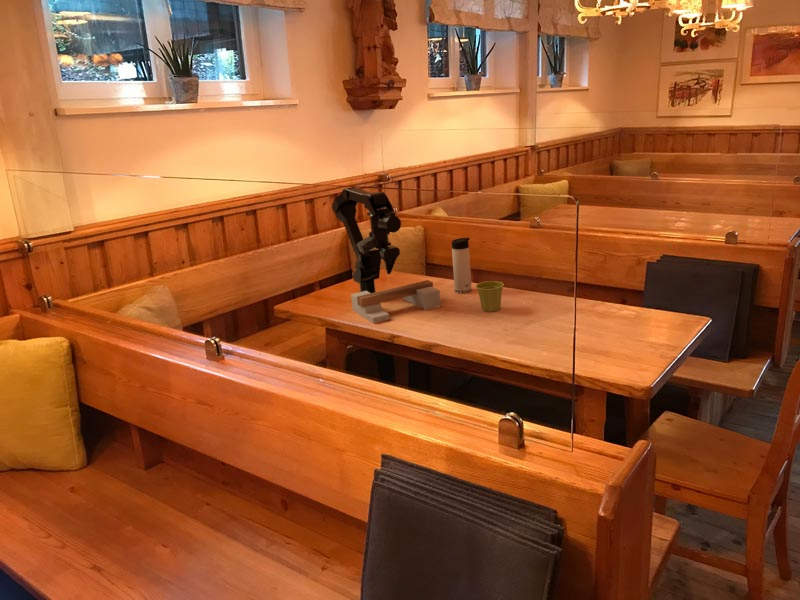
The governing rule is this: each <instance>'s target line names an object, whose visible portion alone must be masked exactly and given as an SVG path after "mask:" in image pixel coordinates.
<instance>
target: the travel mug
mask: <svg viewBox="0 0 800 600" xmlns="http://www.w3.org/2000/svg"><path fill="white" fill-rule="evenodd" d="M470 240H471V239H470V237H460V238H455V239H453V240H452V241H451V254H452V256H451V257H452V270H453V282H454V283H453V285H454V287H453V288H454V292H455V293H456V292H458V293H457V294H466V293H465V292H468V293H470V292H472V289H473V288H472V276H471V274H472V273H471V259H470V255H471V254H470V245H469V244H470V243H469V241H470ZM469 291H470V292H469ZM460 292H461V293H460Z"/></svg>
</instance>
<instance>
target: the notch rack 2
mask: <svg viewBox="0 0 800 600" xmlns="http://www.w3.org/2000/svg"><path fill="white" fill-rule="evenodd" d="M416 292H417V294H415V295H411V296H407V297H403V298H402V299H403V300H406V301H407V302H409V303H411V304H413V305H415V306H416V305H417V306H416V307H418V306H419V308H420V307H421V309H422V308H423V310H424V309H425V310H424V311H429V310H428V309H430V310H433V309H437V308H439V307H438V306H441V307H442V305H441V304H442V303H441V292H440V289H437V288H436V287H434V286H433V287H427V288H423V289H419V290H416ZM436 307H437V308H436ZM432 308H433V309H432Z"/></svg>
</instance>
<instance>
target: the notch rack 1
mask: <svg viewBox="0 0 800 600" xmlns="http://www.w3.org/2000/svg"><path fill="white" fill-rule="evenodd" d="M366 294H370V292H368V291H363V292H360V291H359V292H355V293H351V294H350V296H351V297H350V298H351V307H352V311H353V312H355V313H357V314H358V315H359V316H361V317H363V318H364V319H366V320H367V321H369V322H371V323H372V324H378V323H381V322H385V320H386V321H390V320H389V319H390V314H389V313H388V312H387V311H385V310H383V309H382V304H381V303H378V304H374V305H370V306H365V307H361V306H359V305H358V302H357V296H362V295H366ZM377 322H378V323H377Z"/></svg>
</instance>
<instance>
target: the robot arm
mask: <svg viewBox="0 0 800 600" xmlns="http://www.w3.org/2000/svg"><path fill="white" fill-rule="evenodd" d="M358 204H362V205H363V207H364V208H365V209H366V210H368V212H367V213H366V215H367V216H369V223H370V231H369V232H368V237H365V238H364V237H363V235H362V232H361V229H360V227H359V224H358V222H357V219H356V215H357V210H358V209H357V205H358ZM393 207H394V206H393V205H392V203H391V201H390V199H389V198H388V196H387V194H386V193H385V192H384V191H376V192H371V191H367V190H363V189H360V188H358V187H356V186H350V187H345V188H344V189H342V190H341V192H340V193H339V194H338V195H337V196H336V197H335V198H334V200H333V201H332V204H331V209H332V212H333V214H334V216H335V217H336V219H337V220H338V221H340V222H341V223H342V224H343V225H344V229H345V232H346V234H347V236H348V239H349V241H350V244H351V247H352V249H353V252H354V255H355V258H356V260H355V264H354V267H355V270H354V272H353V274H352V279H353V281H354V282H355V283H357V284H359V290H360V291H359V292H363V291H368V292H370V293H375V292H377V291H376V283H375V280H377V279H378V280H379V279H380V275H381V274H380V273H381V263H382V261H384V266H385V269H386V273H387V275H391V273H392V271H393V268H394V265H395V264H396V263H395V262H396V261H397V258H398V257H399V256H400V255H401V249H400V248H399V247H398V246H395V245H392V242H390V241H389V235H390V234H391V233H397V232H398V231H399V230H400V229H401V225H402V222H401V219H400V218H399V217H398V216H397V215H396V212H395V210H394V208H393Z"/></svg>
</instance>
